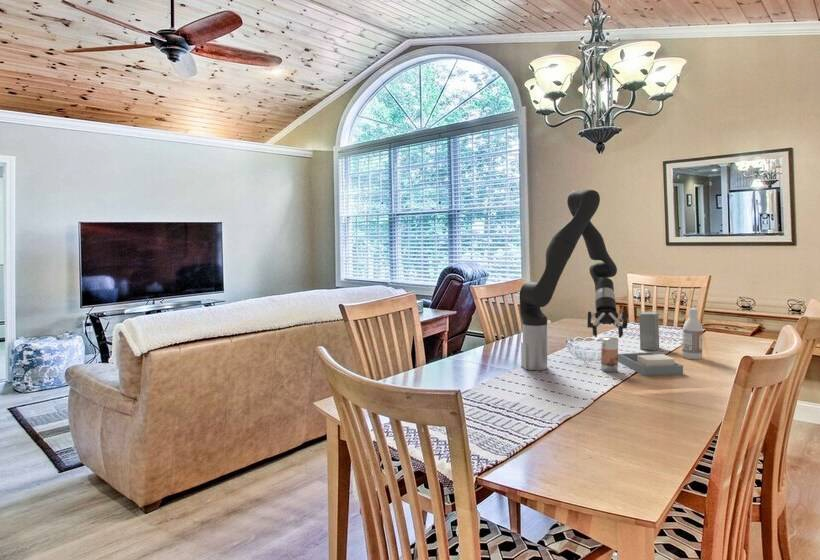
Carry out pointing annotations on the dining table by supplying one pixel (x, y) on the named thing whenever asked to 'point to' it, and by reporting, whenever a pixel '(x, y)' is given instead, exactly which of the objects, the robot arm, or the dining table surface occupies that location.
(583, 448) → the dining table surface
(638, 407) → the dining table surface
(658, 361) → the egg box
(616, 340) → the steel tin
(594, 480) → the dining table surface
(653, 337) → the skincare box
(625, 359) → the tray
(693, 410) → the dining table surface
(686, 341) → the bath foam
